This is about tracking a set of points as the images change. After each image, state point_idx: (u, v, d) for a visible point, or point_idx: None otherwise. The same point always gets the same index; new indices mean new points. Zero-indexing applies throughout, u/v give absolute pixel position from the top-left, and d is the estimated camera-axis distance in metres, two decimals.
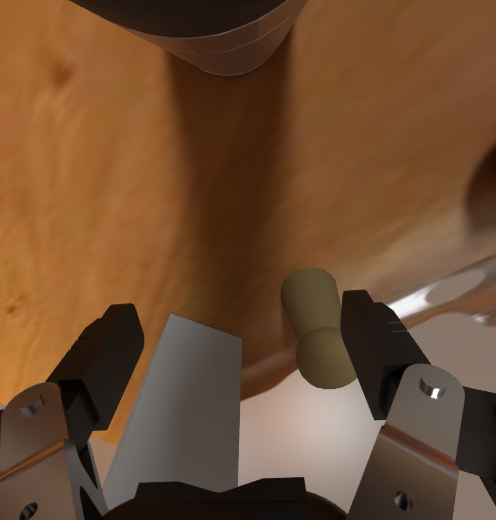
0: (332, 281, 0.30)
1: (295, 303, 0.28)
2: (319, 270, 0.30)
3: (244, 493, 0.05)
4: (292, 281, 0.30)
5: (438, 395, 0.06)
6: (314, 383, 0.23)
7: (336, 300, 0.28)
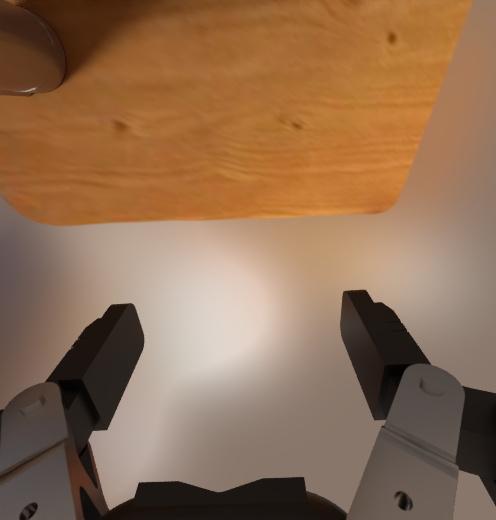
0: None
1: None
2: None
3: (244, 493, 0.05)
4: None
5: (438, 395, 0.06)
6: None
7: None
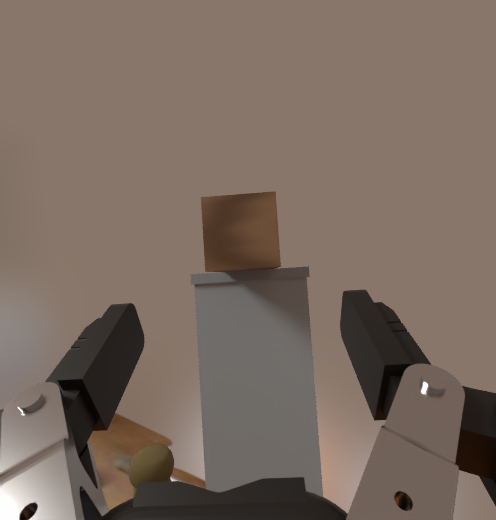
0: None
1: None
2: None
3: (243, 493, 0.05)
4: None
5: (438, 395, 0.06)
6: (162, 456, 0.35)
7: None
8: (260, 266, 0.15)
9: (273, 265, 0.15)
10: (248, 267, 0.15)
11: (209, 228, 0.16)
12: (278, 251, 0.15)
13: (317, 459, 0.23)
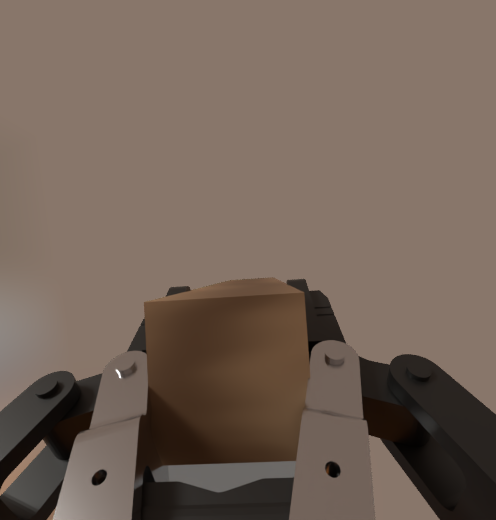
0: None
1: None
2: None
3: (243, 493, 0.05)
4: None
5: (335, 365, 0.07)
6: None
7: None
8: (271, 459, 0.07)
9: None
10: (245, 459, 0.07)
11: (161, 371, 0.07)
12: None
13: None
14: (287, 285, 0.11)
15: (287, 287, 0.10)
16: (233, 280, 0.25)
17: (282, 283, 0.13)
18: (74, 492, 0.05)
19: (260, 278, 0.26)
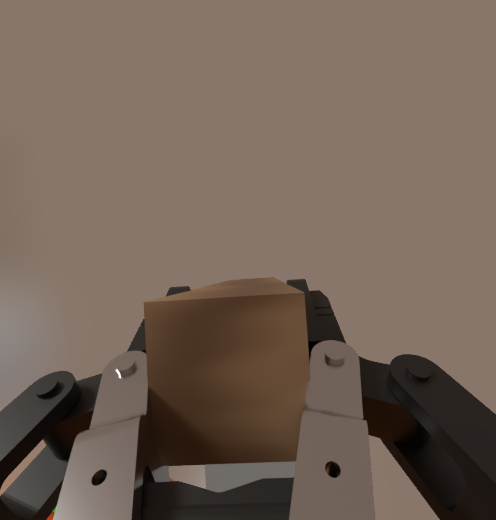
0: None
1: None
2: None
3: (244, 493, 0.05)
4: None
5: (335, 365, 0.07)
6: None
7: None
8: (271, 459, 0.07)
9: None
10: (245, 459, 0.07)
11: (161, 371, 0.07)
12: None
13: None
14: (287, 285, 0.11)
15: (287, 287, 0.10)
16: (233, 280, 0.25)
17: (282, 283, 0.13)
18: (74, 492, 0.05)
19: (260, 278, 0.26)
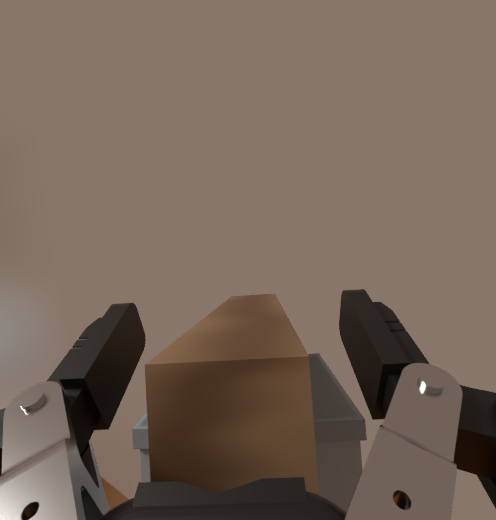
0: None
1: None
2: None
3: (244, 493, 0.05)
4: None
5: (436, 394, 0.06)
6: None
7: None
8: None
9: None
10: None
11: (162, 435, 0.07)
12: None
13: None
14: (290, 326, 0.11)
15: (290, 334, 0.10)
16: (234, 297, 0.25)
17: (285, 318, 0.13)
18: None
19: (262, 295, 0.26)
